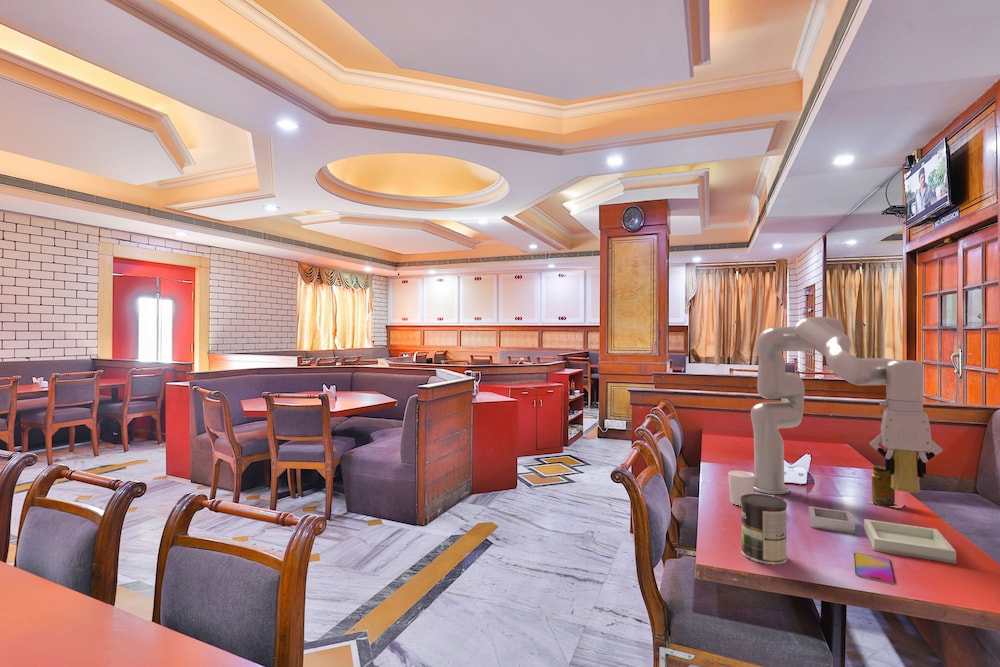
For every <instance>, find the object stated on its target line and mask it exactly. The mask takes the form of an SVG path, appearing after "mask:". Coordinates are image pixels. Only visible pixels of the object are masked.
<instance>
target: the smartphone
mask: <svg viewBox="0 0 1000 667" xmlns="http://www.w3.org/2000/svg"><path fill="white" fill-rule="evenodd" d="M853 558H854V574H855V576H856V577H858V578H861V579H866V580H871V581H874V582H879V583H883V584H884V583H885V584H889V585H895V584H896V578H895V575H894V570H893V565H892V562H891V560H890V559H888V558H886V557H885V558H884V557H880V556H876V555H871V554H865V553H859V552H854V553H853Z"/></svg>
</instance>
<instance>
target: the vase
mask: <svg viewBox="0 0 1000 667" xmlns="http://www.w3.org/2000/svg"><path fill="white" fill-rule="evenodd" d="M891 457H892V460H893V474H892V475H891V486H890V487H891V488H892V489H895V491H898V492H903V493H912V494H913V493H914V494H916V493H920V492H921V488H920V487H921V486H920V485H921V484H920V477H919V472H918V458H919V457H918V452H915V451H907V450H894V452H893V454H892V456H891Z"/></svg>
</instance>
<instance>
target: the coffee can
mask: <svg viewBox="0 0 1000 667" xmlns="http://www.w3.org/2000/svg"><path fill="white" fill-rule="evenodd" d="M787 507H788V503H787V501H785V500H783V499H782V498H780V497H777V496H773V495H770V494H769V495H767V494H764V493H763V494H762V493H754V494H746V495H743V496H741V551H740V552H741V554H742V555H743V557H745V556H746V557H747V558H746V557H745V558H746V559H748V558H750V559H751V560H750V559H749V560H750V561H752V560H754V561H753V562H755V561H757V562H756V563H758V562H760V563H759V564H762V563H764V565H769V564H772V565H773V566H774V565H775V566H777V565H778V564H779V565H783V563H784V564H786V562H787V561H788V558H787V556H788V555H787ZM772 565H771V566H772ZM779 565H778V566H779Z"/></svg>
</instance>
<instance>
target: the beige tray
mask: <svg viewBox="0 0 1000 667" xmlns="http://www.w3.org/2000/svg"><path fill="white" fill-rule="evenodd" d="M863 526H864V527H863V530H864V532H865V534H866V536H867V539H868V540H869V543H870V544H871V546H872V548H873V550H874V551H876V552H882V553H888V554H893V555H900V556H906V557H913V558H917V559H924V560H930V561H931V560H932V561H937V562H943V563H949V564H954V565H956V564H957V551H956V550H955V548H953V546H952V545H951V544H950V543H949V541H948V540H947V539H946V538H945V537H944V535H943V534H942V533H941V532H940V531H939V530H938V529H937V528H931V527H924V526H916V525H909V524H904V523H902V524H901V523H895V522H890V521H889V522H888V521H882V520H873V519H867V518H866V519H865V518H864V519H863Z"/></svg>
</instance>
